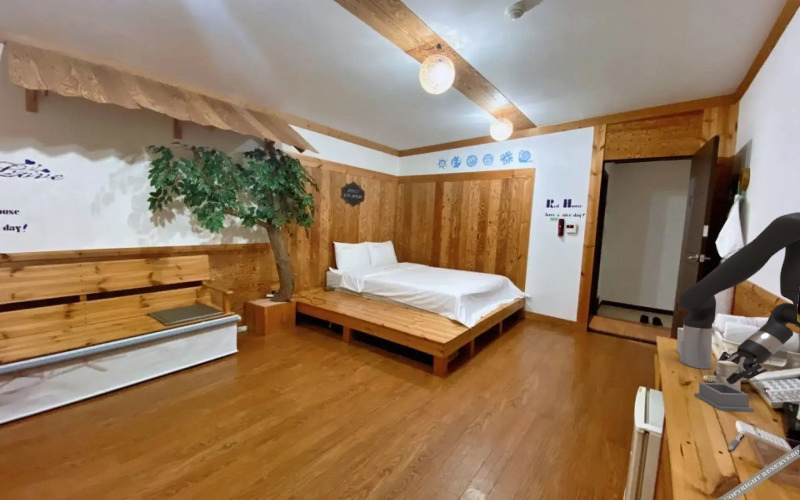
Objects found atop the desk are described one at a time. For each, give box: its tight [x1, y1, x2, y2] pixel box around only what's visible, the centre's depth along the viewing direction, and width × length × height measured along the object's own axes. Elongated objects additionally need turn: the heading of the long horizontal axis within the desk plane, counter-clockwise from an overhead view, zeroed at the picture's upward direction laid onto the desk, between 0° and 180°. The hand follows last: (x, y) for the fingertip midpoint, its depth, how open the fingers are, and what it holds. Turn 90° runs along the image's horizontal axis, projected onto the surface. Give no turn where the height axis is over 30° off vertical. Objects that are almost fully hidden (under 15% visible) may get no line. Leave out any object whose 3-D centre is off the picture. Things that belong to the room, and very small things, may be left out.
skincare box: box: [676, 327, 683, 355], centre depth 155 cm, size 6×4×12 cm
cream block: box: [715, 360, 742, 391], centre depth 117 cm, size 4×4×10 cm
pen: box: [727, 432, 743, 451], centre depth 88 cm, size 1×14×1 cm, turn 123°
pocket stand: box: [694, 382, 755, 413], centre depth 109 cm, size 10×10×5 cm
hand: (722, 379), depth 117 cm, fingers closed on cream block, 4 cm apart
